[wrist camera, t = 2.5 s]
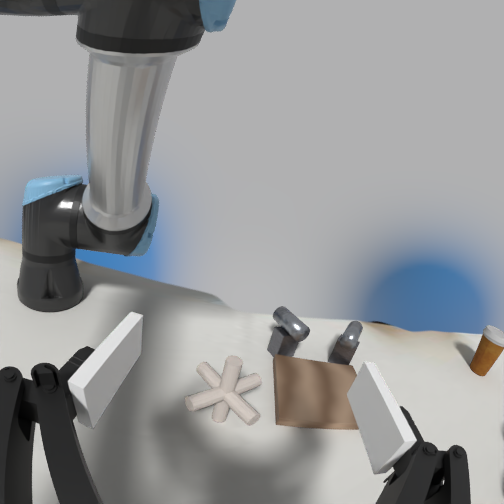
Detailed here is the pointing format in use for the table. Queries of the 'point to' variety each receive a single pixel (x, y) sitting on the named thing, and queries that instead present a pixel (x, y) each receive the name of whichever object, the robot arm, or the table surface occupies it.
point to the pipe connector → (225, 391)
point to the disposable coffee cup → (487, 350)
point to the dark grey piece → (346, 344)
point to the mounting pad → (312, 393)
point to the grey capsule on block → (286, 333)
